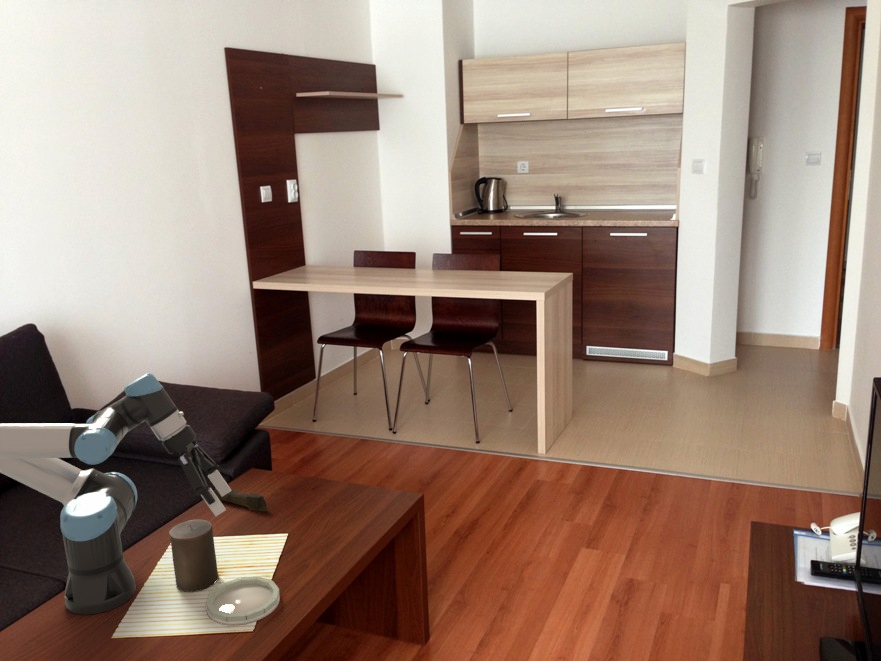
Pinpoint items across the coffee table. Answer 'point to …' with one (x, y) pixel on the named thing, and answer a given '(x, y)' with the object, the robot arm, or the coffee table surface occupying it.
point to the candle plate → (243, 600)
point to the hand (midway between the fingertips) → (224, 503)
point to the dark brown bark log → (244, 500)
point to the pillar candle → (193, 555)
